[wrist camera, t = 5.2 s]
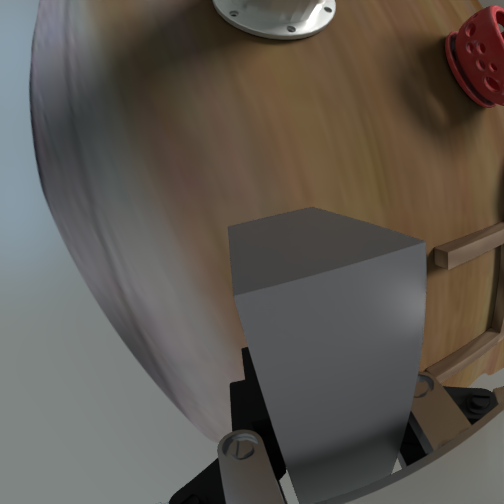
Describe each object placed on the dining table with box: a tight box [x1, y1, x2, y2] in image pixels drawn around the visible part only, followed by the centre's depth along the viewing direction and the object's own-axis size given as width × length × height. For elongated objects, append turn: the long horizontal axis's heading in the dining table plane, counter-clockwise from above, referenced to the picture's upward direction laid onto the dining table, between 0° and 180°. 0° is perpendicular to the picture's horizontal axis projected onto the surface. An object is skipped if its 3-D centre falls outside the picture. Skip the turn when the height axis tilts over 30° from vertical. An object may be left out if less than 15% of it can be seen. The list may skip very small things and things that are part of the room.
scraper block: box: [228, 207, 426, 504], centre depth 8 cm, size 12×3×6 cm, turn 13°
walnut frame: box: [426, 221, 504, 383], centre depth 28 cm, size 20×18×2 cm
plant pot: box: [445, 5, 504, 108], centre depth 16 cm, size 13×13×12 cm
